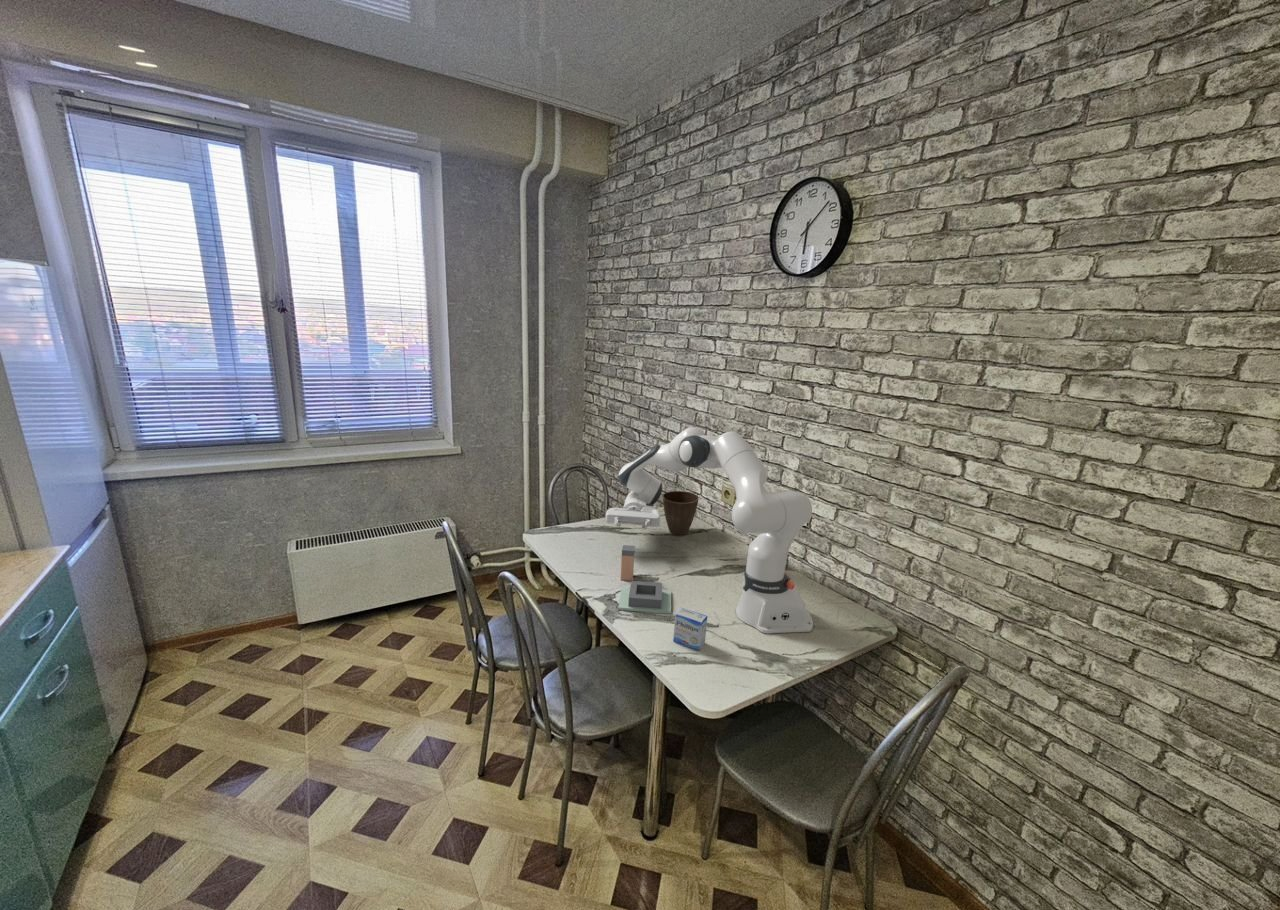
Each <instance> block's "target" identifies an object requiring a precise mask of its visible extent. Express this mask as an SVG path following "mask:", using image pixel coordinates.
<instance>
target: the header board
mask: <svg viewBox="0 0 1280 910" xmlns="http://www.w3.org/2000/svg"><path fill="white" fill-rule="evenodd" d="M617 609H618V610H619V611H629V612H630V611H631V612H641V613H642V612H643V613H655V614H657V613H658V614H667V615H668V614H669V615H670V614H672V590H666V589H663V583H661V582H650V581H637V580H636V581H635V580H632V581H630V587H624V586H622V587H621V591H620V596H619V600H618V605H617Z"/></svg>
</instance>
